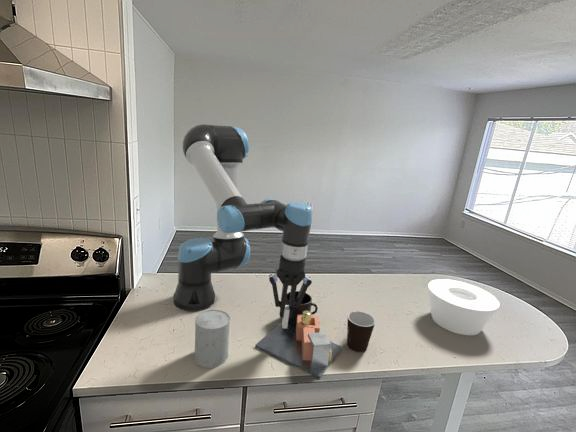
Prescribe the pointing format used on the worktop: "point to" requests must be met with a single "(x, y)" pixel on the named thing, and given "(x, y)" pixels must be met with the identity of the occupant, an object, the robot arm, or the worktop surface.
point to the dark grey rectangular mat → (291, 349)
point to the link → (306, 334)
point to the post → (306, 318)
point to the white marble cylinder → (211, 338)
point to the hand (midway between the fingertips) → (284, 325)
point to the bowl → (461, 306)
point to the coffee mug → (359, 330)
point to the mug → (304, 306)
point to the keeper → (320, 349)
